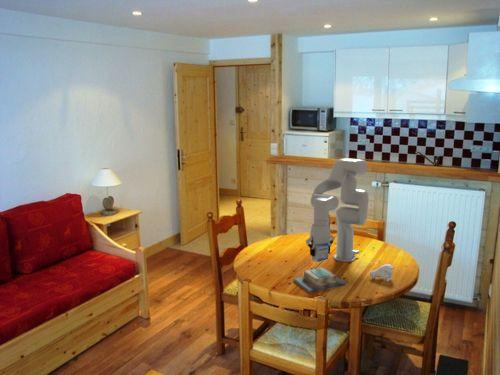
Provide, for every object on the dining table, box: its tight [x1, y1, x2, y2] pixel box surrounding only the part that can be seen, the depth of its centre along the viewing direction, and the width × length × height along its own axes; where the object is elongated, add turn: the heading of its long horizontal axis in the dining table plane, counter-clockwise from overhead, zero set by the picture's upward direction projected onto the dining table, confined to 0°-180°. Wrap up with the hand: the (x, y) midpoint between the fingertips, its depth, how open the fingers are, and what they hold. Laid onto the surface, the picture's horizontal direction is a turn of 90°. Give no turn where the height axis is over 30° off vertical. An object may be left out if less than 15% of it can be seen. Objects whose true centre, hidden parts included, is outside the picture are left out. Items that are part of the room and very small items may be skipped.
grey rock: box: [369, 263, 394, 283], centre depth 244 cm, size 6×8×12 cm
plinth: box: [293, 267, 347, 294], centre depth 240 cm, size 22×16×6 cm
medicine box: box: [311, 243, 329, 263], centre depth 236 cm, size 8×4×9 cm, turn 126°
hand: (320, 254), depth 237 cm, fingers closed on medicine box, 8 cm apart
